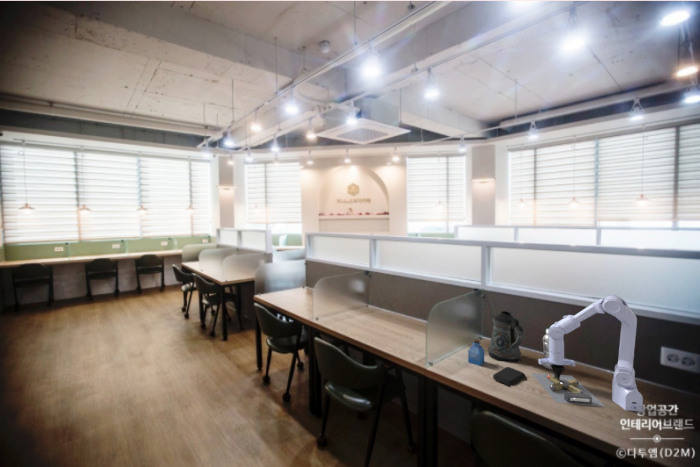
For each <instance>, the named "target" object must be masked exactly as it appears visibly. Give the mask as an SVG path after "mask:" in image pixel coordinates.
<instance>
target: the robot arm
mask: <svg viewBox="0 0 700 467" xmlns="http://www.w3.org/2000/svg"><path fill="white" fill-rule="evenodd" d="M605 313H607V314H609V315H611V316H613V317H615V318H616V319H617V320H618V321H620V323H621V326H620V327H621V328H620V337H619V349H618V361H617V363H616V364H615V366H614V373H613V378H612V383H611V388H612V389H611V400H612V401H613V403H615V404H616V405H618V406H620V407H621V409H623V410H624V411H631V412H643V406H644V404H643V403H644V402H643V401H644V397H643V395H642V394H641V392H639V389H638V388H637V383H636V379H635V376H636V371H635V369H634V358H635V347H636V336H637V327H638V326H637V323H638V319H637V315H636V314H635V313H634V312H633V310H632V309H631V308H630V306H629V304H628V303H627V302H626V300H624V299H623V298H621V297H620V296H618V295H616V294H608V295H606V296H605V297H604V298H600V299H598V300H596V301H594V302H593V303H590V304H589V305H588V306H587V307H585V308H584V309H582V310H581V311H578V313H576V314H575V315H573V314H567V315H566V314H565V315H564V316H562V319H560V320H559V321H555V322H554V324H552V325H550V327H549V329H548V334H549V358H544V359H542V358H538V364H539V365H540V366H541V365H542V366H543V364H550V365H551V367H552V369H551V370H552V373H553V374H554V375H555V377H556V378H558V379H560V375H562V373H563V372H564V371H565V369H566V368H565V366H572V367H576V362H575V360H573V359H565V340H564V335H567V334H569V333H571V332H572V331H574V330H576V329H578V328H580V327H581V322H582V321H585V320H586V319H588V318H590V317H592V316H594V315H596V314H603V315H604V314H605Z"/></svg>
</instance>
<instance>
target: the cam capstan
mask: <svg viewBox="0 0 700 467" xmlns="http://www.w3.org/2000/svg"><path fill="white" fill-rule="evenodd" d="M547 378H548V379H549V380H550V381H552V382H554V383H556V384H552V385H551V386H550V389H551V390H553V391H557V390H561V389H564V390H569V391H571V392H572V393H580V394H584V393H583V392H582V391H581V390H579V389H578V388H576V387H574V386H577V385H578V384H579V383H580V381H579V380H578V379H576V378H575V379H576V380H575V379H573V380H569V381H565V380H560V379H558V378H556V377H554V376H553V375H547Z"/></svg>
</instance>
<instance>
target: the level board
mask: <svg viewBox="0 0 700 467" xmlns="http://www.w3.org/2000/svg"><path fill="white" fill-rule="evenodd" d="M531 375H532V377H534V378H535V380H537V382H538V383H539V384H540V386H542V388H543V389H544V390H545V391H546V393H548V395H549V396H550V397H551V398H552V399H553V400H554V402H555V403H557V404H571V405H580V406H581V405H582V406H594V407H605V408H606V405H604V403H602V401H600V400H599V399H598V398H597V397H596V396H595V395H594V394H593V393H592V392H590V391H589V390H588V389H587V388H586V387H585V386H583V385H582V384H581V383H580V382H579V384H578V385H577V386H574V387H576V388H578V389H579V390H581V391H582V392H583V393H584V394H589V395H590V396H591V397H592V404H582V403H569V402H567V401H566V400H565V399H564V392H566V393H572V392H571V391H569V390H564V389H561V390H557V391H553V390H551V389H550V386H551V385H552V384H556V383H554V382H552V381H550V380H549V379H548V378H547V375H553V376H554V377H555V375H554V373H553V374H551V373H550V374H549V373H539V372H538V373H534V372H531ZM573 379H575V380H577V379H576V378H575V377H574V376H573V375H566V374H561V375H560V380H565V381H569V380H573Z"/></svg>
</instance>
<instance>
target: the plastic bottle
mask: <svg viewBox="0 0 700 467" xmlns="http://www.w3.org/2000/svg"><path fill="white" fill-rule="evenodd" d="M549 328H550V327H549ZM549 328H545V334H544V335H543V337H542V344H543V352H542V353H543V355H542V358H541V359H544V358H549V334H548V329H549ZM542 366H543V368H546V369H547V370H548V369H549V370H553V369H552V367H551V365H550V364H543V365H542Z"/></svg>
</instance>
